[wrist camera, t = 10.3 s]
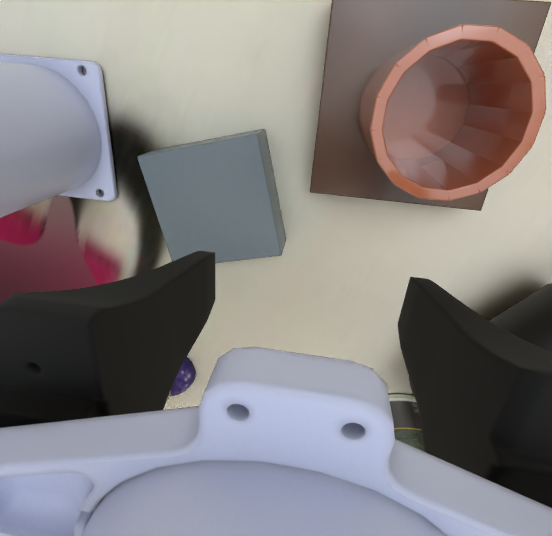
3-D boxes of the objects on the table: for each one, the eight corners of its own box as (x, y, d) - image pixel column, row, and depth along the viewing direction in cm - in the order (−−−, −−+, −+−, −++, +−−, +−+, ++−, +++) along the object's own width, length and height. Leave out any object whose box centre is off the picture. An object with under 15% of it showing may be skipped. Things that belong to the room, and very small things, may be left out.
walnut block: (311, 181, 22) (309, 192, 20) (333, 0, 18) (333, -12, 16) (465, 198, 21) (481, 211, 19) (523, 12, 17) (552, 1, 15)
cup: (350, 159, 19) (359, 192, 13) (369, 42, 17) (389, 19, 11) (454, 170, 18) (510, 208, 13) (488, 50, 16) (576, 31, 10)
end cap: (530, 260, 22) (602, 324, 16) (593, 331, 24) (681, 413, 18) (398, 347, 27) (417, 423, 21) (459, 403, 28) (494, 489, 22)
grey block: (187, 252, 26) (174, 268, 23) (155, 149, 23) (136, 156, 20) (286, 240, 24) (281, 255, 22) (265, 128, 21) (257, 133, 19)
